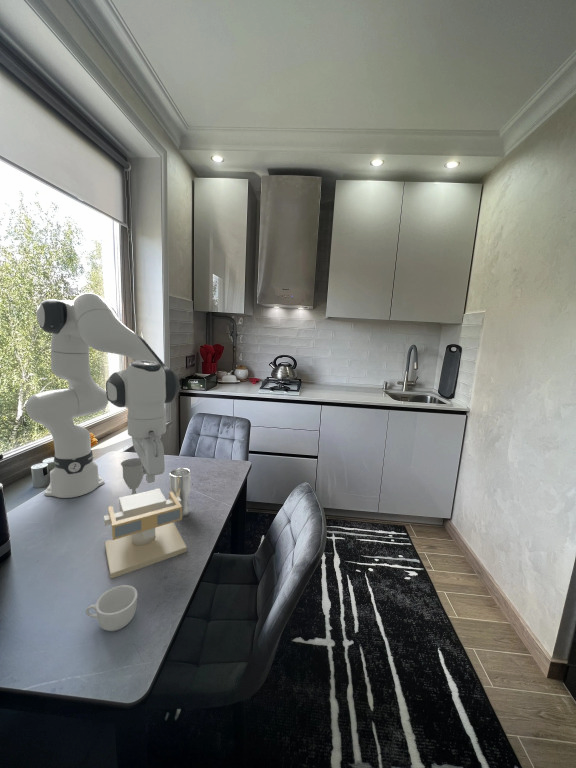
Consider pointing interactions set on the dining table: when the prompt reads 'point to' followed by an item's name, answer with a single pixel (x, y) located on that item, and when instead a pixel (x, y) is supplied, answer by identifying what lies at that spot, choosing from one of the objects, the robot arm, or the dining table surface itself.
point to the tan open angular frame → (145, 519)
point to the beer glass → (181, 487)
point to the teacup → (115, 607)
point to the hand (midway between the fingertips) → (148, 477)
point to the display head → (142, 535)
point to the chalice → (132, 473)
